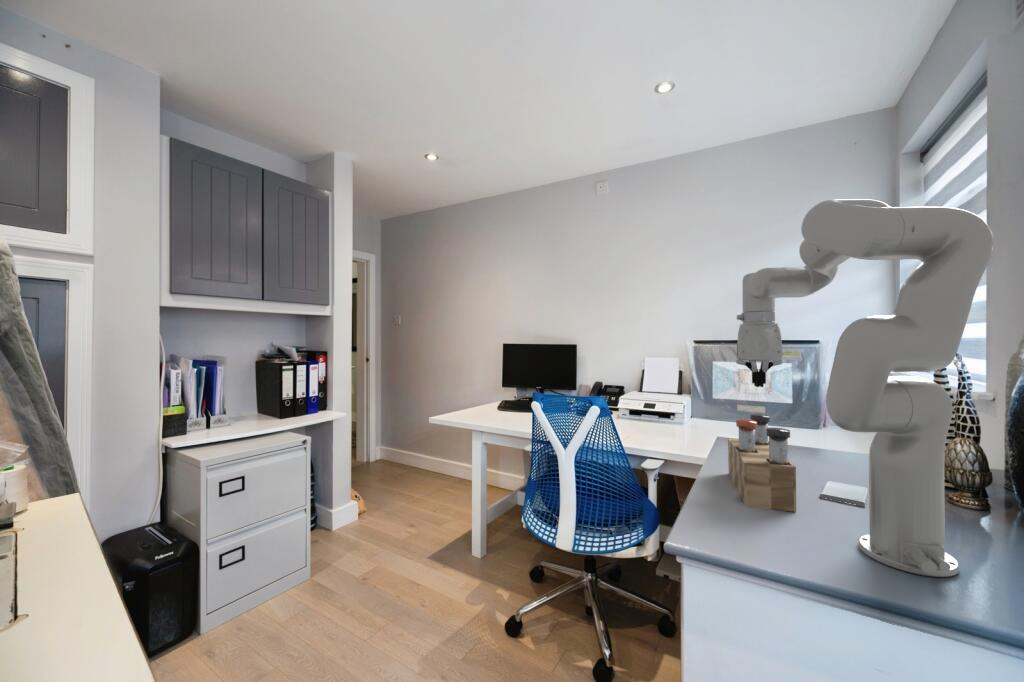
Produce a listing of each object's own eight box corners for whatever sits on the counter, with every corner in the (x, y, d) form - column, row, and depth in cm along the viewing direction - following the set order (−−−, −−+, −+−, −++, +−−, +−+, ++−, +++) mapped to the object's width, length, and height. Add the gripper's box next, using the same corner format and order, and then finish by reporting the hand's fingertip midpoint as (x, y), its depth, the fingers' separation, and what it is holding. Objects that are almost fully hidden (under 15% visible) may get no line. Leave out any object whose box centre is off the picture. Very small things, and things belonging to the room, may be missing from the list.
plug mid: (759, 471, 102) (758, 423, 102) (738, 469, 103) (738, 422, 103) (755, 465, 106) (754, 419, 106) (735, 464, 108) (734, 418, 108)
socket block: (796, 512, 91) (795, 466, 91) (745, 506, 94) (744, 462, 94) (769, 477, 114) (768, 440, 114) (728, 473, 117) (728, 438, 117)
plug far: (772, 462, 109) (772, 417, 109) (752, 461, 110) (752, 416, 110) (768, 457, 113) (767, 414, 113) (749, 456, 115) (748, 413, 115)
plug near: (793, 485, 92) (792, 432, 92) (769, 483, 93) (769, 431, 93) (787, 479, 96) (786, 428, 96) (764, 477, 98) (764, 427, 98)
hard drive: (865, 502, 93) (868, 487, 102) (820, 493, 99) (826, 479, 108) (865, 509, 93) (868, 493, 102) (820, 500, 99) (826, 486, 108)
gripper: (729, 319, 111) (730, 387, 111) (795, 317, 106) (795, 389, 106) (725, 319, 118) (725, 384, 118) (786, 318, 113) (786, 385, 113)
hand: (758, 386), depth 112 cm, fingers closed
